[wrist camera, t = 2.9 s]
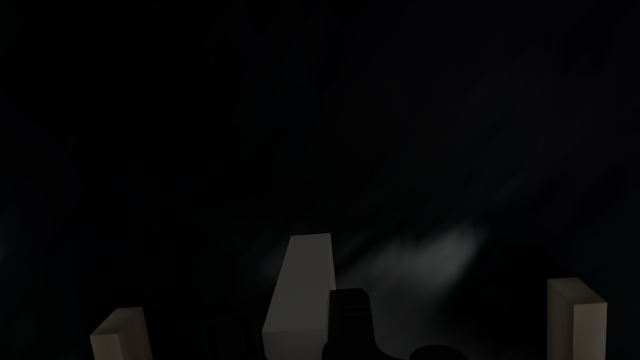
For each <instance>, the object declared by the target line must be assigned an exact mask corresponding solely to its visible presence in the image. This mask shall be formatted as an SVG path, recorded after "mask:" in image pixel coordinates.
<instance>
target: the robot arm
mask: <svg viewBox="0 0 640 360" xmlns="http://www.w3.org/2000/svg"><path fill="white" fill-rule="evenodd" d="M201 332H202V337H203V343H204V349H205V354H206V360H404V359H399V358H395V357H392V356H389V355H387V354H385V353H384V352H382V351H381V350H380V349H379V348H378V347H377V345H376V342H375V337H374V329H373V322H372V314H371V307H370V300H369V295H368V294H367V293H366V292H365V291H364V290H363V289H362V288H353V289H339V290H336V285H335V275H334V266H333V256H332V246H331V236H330V233H325V234H312V235H300V236H291V239H290V242H289V245H288V248H287V252H286V255H285V258H284V261H283V265H282V268H281V271H280V274H279V278H278V281H277V284H276V288H275V291H274V294H273V296H261V297H251V298H250V299H249V300H248V301H246V302H245V303H244V304H243V305H242V306H241V308H240V311H239V313H230V314H224V315H221V316H218V317H216V318H213V319H212V320H210V321H209V322H207V323H206V324H205V325H204V326H203V327H202V328H201ZM409 360H470V359H469V358H468V357H467V356H466V355H465V354H463V353H462V352H461V351H459V350H457V349H455V348H452V347H450V346H444V345H427V346H424V347H421V348H418V349H416V350H415V351H414V352H413V353H412V354H411V355H410V358H409Z"/></svg>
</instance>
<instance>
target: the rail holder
mask: <svg viewBox="0 0 640 360" xmlns="http://www.w3.org/2000/svg"><path fill="white" fill-rule="evenodd" d="M606 320H607V302H606V301H604V300H603V299H602V298H601V297H600V296H598V295H597V294H596V293H595V292H594V291H592V290H591V289H590V288H589V287H588V286H586V285H585V284H584V283H583V282H582V281H580V280H579V279H578V278H577V277H572V278H557V279H547V360H605V347H606ZM90 340H91V344H92V348H93V353H94V357H95V360H153V357H152V353H151V348H150V343H149V338H148V333H147V328H146V323H145V318H144V313H143V308H142V307H131V308H117V309H116V310H115V311H114V312H113V313H112V314H111V315H110V316H109V317H108V318H107V319H106V320H105V321H104V322H103V323H102V324H101V325H100V326H99V327H98V328H97V329H96V330H95V331H94V332H93V333H92V334H91V335H90Z"/></svg>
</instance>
